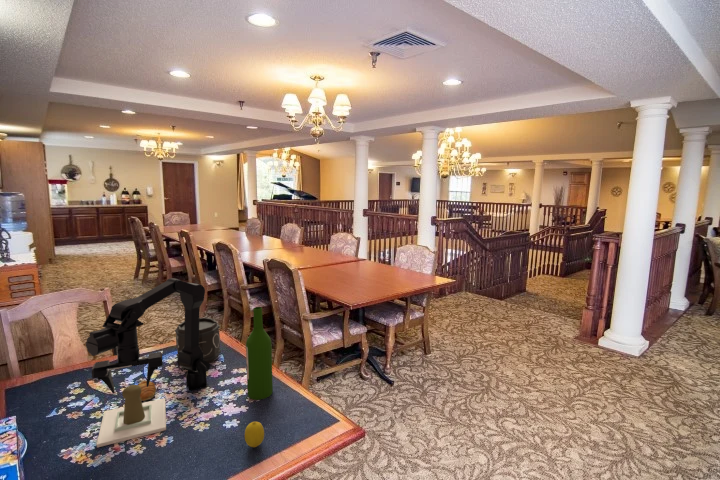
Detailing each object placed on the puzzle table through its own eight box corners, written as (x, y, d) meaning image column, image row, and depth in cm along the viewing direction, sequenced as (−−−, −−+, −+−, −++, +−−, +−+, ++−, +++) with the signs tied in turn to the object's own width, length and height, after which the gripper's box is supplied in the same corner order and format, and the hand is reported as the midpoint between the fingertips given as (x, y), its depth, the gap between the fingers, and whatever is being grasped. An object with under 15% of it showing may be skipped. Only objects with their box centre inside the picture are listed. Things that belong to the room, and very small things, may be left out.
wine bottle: (247, 388, 144) (244, 305, 139) (271, 385, 147) (269, 303, 141) (248, 401, 135) (244, 313, 130) (273, 397, 138) (271, 311, 133)
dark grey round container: (230, 352, 173) (229, 319, 171) (201, 370, 157) (199, 334, 154) (199, 346, 180) (197, 314, 177) (167, 363, 163) (165, 327, 161)
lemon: (247, 441, 115) (246, 416, 114) (265, 440, 116) (265, 415, 114) (243, 454, 110) (242, 428, 109) (262, 453, 110) (262, 427, 109)
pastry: (159, 398, 137) (158, 388, 137) (137, 404, 133) (136, 394, 133) (154, 386, 145) (153, 377, 144) (133, 392, 141) (132, 383, 140)
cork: (135, 426, 120) (132, 393, 118) (118, 423, 121) (115, 391, 120) (149, 414, 126) (146, 383, 124) (133, 412, 127) (130, 381, 125)
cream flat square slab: (165, 400, 136) (164, 395, 135) (166, 429, 120) (165, 424, 120) (104, 414, 127) (104, 408, 127) (96, 447, 112) (96, 441, 111)
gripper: (160, 329, 131) (163, 372, 133) (94, 338, 122) (99, 384, 125) (160, 341, 121) (164, 387, 123) (89, 352, 112) (93, 401, 115)
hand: (130, 389), depth 122 cm, fingers open, 9 cm apart
